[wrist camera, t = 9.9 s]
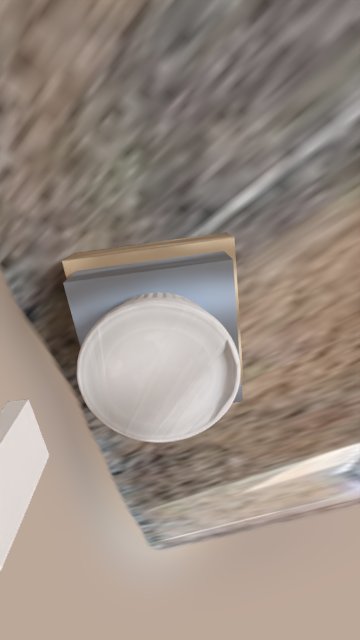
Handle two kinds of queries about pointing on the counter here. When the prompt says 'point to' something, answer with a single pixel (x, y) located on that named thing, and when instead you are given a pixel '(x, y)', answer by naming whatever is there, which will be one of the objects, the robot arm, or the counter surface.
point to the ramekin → (158, 368)
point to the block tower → (156, 280)
